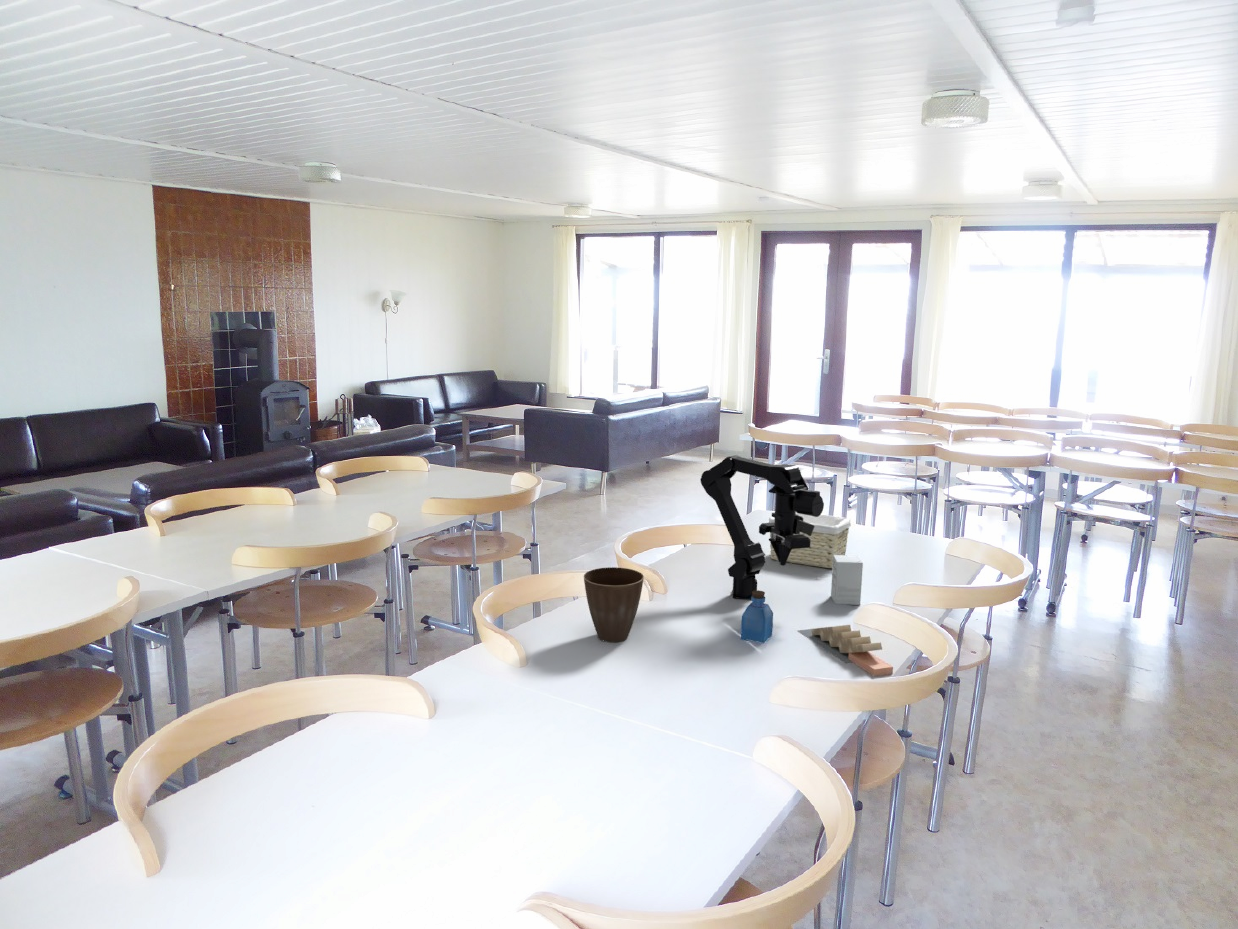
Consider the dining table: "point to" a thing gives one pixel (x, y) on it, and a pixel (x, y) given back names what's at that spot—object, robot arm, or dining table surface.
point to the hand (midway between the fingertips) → (782, 565)
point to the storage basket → (820, 541)
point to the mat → (826, 645)
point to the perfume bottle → (757, 619)
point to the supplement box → (846, 579)
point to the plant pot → (613, 600)
